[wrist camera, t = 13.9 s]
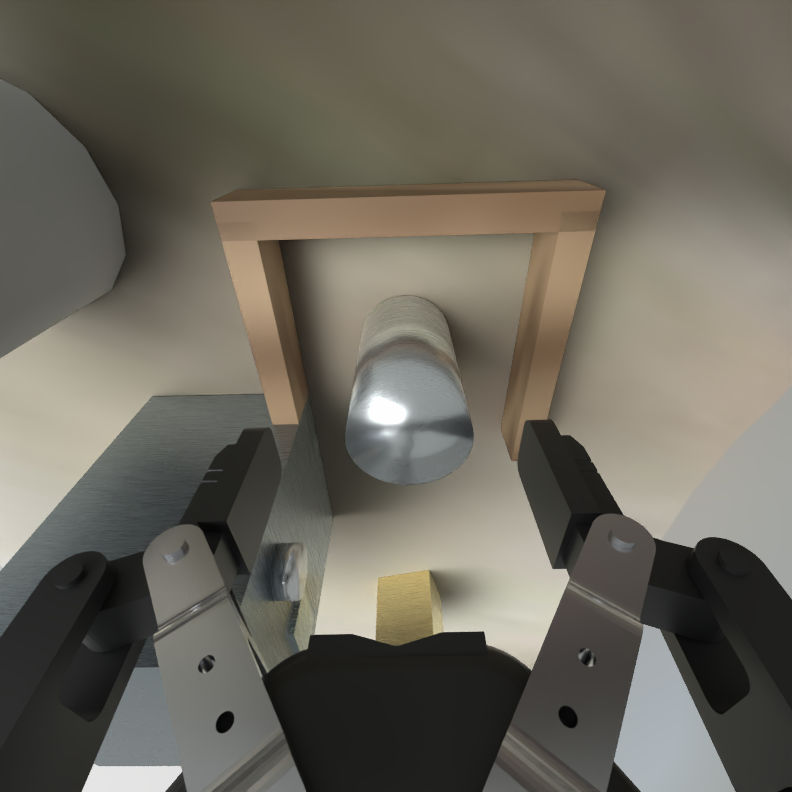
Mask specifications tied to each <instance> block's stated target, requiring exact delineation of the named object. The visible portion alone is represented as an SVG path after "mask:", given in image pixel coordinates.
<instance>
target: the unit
mask: <svg viewBox="0 0 792 792" xmlns="http://www.w3.org/2000/svg"><path fill="white" fill-rule="evenodd" d="M258 427H269V428H270V429H271V430H272V433H273V436H274V440H275V443H276V447H277V450H278V454H279V457H280V461H281V467H282V474H281V480H280V484H279V487H278V490H277V493H276V496H275V499H274V503H273V506H272V509H271V512H270V515H269V518H268V521H267V524H266V528H265V531H264V534H263V537H262V540H261V543H260V546H259V549H258V552H257V556H256V559H255V562H254V565H253V568H252V571H251V574H250V575H236V577H235V580H234V583H233V586H232V589H233V591H234V593H235V596H236V598H237V600H238V603H239V605H240V608H241V610H242V612H243V615H244V617H245V619H246V622H247V624H248V626H249V629H250V631H251V633H252V636H253V638H254V640H255V643H256V645H257V647H258V649H259V651H260V654H261V656H262V658H263V660H264V662H265V664H266V666H267V668H268V671H270V670H271V669H272V668H274V667H275V666H276V665H277V664H279V663H280V662H281V661H283V660H285V659H286V658H288V657H290V656H291V655H294V654H296V653H298V652H300V651H302V650H305V649H308V644H309V638H310V635H314V632H315V626H316V620H317V614H318V607H319V601H320V595H321V589H322V582H323V576H324V570H325V564H326V557H327V551H328V545H329V539H330V532H331V526H332V520H333V515H332V510H331V505H330V500H329V495H328V490H327V485H326V480H325V475H324V469H323V464H322V459H321V454H320V449H319V444H318V439H317V434H316V429H315V424H314V418H313V413H312V408H311V403H310V398H309V394H308V397H307V400H306V403H305V406H304V409H303V412H302V416H301V419H300V422H299V424H276V425H273V424H272V421H271V417H270V413H269V410H268V406H267V403H266V399H265V396H264V394H253V395H204V396H155V397H151V398H150V399H149V401H148V402H147V403H146V404H145V405H144V406H143V408H142V409H141V410H140V411H139V412H138V413H137V414H136V416H135V417H134V418H133V419H132V420H131V421H130V422H129V424H128V425H127V426H126V427H125V428H124V429H123V431H122V432H121V433H120V434H119V435H118V436H117V437H116V439H115V440H114V441H113V442H112V443H111V444H110V446H109V447H108V448H107V449H106V450H105V451H104V452H103V454H102V455H101V456H100V457H99V458H98V459H97V461H96V462H95V463H94V464H93V465H92V466H91V467H90V469H89V470H88V471H87V472H86V473H85V474H84V476H83V477H82V478H81V479H80V480H79V481H78V482H77V484H76V485H75V486H74V487H73V488H72V489H71V491H70V492H69V493H68V494H67V495H66V496H65V497H64V499H63V500H62V501H61V502H60V503H59V504H58V505H57V507H56V508H55V509H54V510H53V511H52V512H51V514H50V515H49V516H48V517H47V518H46V519H45V520H44V522H43V523H42V524H41V525H40V526H39V527H38V529H37V530H36V531H35V532H34V533H33V534H32V535H31V537H30V538H29V539H28V540H27V541H26V542H25V544H24V545H23V546H22V547H21V548H20V549H19V550H18V552H17V553H16V554H15V555H14V556H13V557H12V559H11V560H10V561H9V562H8V563H7V564H6V565H5V567H4V568H3V569H2V570H1V571H0V637H1V636H2V634H3V633H4V632H5V630H6V629H7V627H8V626H9V625H10V623H11V622H12V620H13V619H14V618H15V616H16V615H17V613H18V612H19V611H20V609H21V608H22V606H23V605H24V604H25V602H26V601H27V599H28V598H29V597H30V595H31V594H32V592H33V591H34V590H35V588H36V587H37V585H38V584H39V583H40V581H41V580H42V579H43V577H44V576H45V575H46V574H47V573H48V572H49V571H50V570H51V569H52V568H53V567H54V566H56V565H57V564H59V563H60V562H61V561H63V560H65V559H66V558H68V557H71V556H73V555H75V554H78V553H81V552H86V551H97V552H100V553H102V554H103V555H104V556H105V557H106V559H107V560H108V561H112V560H115V559H119V558H122V557H125V556H129V555H132V554H136V553H139V552H142V551H145V550H146V549H147V547H148V546H149V544H150V543H151V542H152V541H153V540H154V539H155V538H156V537H157V536H158V535H160V534H161V533H163V532H164V531H166V530H168V529H170V528H172V527H175V526H177V525H178V524H179V522H180V520H181V518H182V516H183V515H184V513H185V511H186V509H187V507H188V505H189V504H190V502H191V500H192V498H193V496H194V494H195V492H196V491H197V489H198V487H199V485H200V483H202V479H203V478H204V476H205V474H206V472H208V468H209V467H210V465H211V463H212V461H213V459H214V457H215V456H216V455H217V454H218V453H219V452H220V451H221V450H222V449H224V448H225V447H226V446H227V445H230V444H236V443H237V441H238V439H239V437H240V435H241V433H242V431H243V429H244V428H258ZM94 764H96V765H98V766H181V763H180V758H179V754H178V749H177V745H176V740H175V736H174V732H173V727H172V723H171V718H170V714H169V709H168V705H167V700H166V696H165V691H164V687H163V683H162V678H161V674H160V669H159V665H158V660H157V656H156V651H155V647H154V641H153V636H151V637H148V638H147V639H146V642H145V644H144V647H143V649H142V651H141V654H140V656H139V658H138V661H137V663H136V665H135V668H134V670H133V672H132V675H131V677H130V679H129V682H128V684H127V686H126V689H125V691H124V693H123V696H122V698H121V700H120V703H119V705H118V707H117V710H116V712H115V714H114V717H113V719H112V721H111V724H110V726H109V729H108V731H107V733H106V736H105V738H104V740H103V743H102V745H101V747H100V750H99V752H98V754H97V757H96V759H95V761H94Z"/></svg>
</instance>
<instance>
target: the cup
mask: <svg viewBox="0 0 792 792" xmlns="http://www.w3.org/2000/svg"><path fill="white" fill-rule="evenodd" d="M125 256H126V252H125V245H124V239H123V233H122V226H121V220H120V214H119V207H118V204H117V202H116V200H115V199H114V197H113V195H112V193H111V192H110V190H109V188H108V186H107V185H106V183H105V181H104V179H103V178H102V176H101V174H100V172H99V171H98V169H97V167H96V165H95V164H94V162H93V160H92V158H91V157H90V155H89V153H88V152H87V150H86V148H85V147H84V146H83V145H82V144H81V143H80V142H79V141H78V140H77V139H76V138H75V137H74V136H73V135H72V134H71V133H70V132H69V131H68V130H67V129H66V128H65V127H64V126H62V125H61V124H60V123H59V122H58V121H57V120H56V119H55V118H54V117H53V116H52V115H51V114H50V113H49V112H48V111H47V110H46V109H45V108H44V107H43V106H42V105H41V104H40V103H38V102H37V101H36V100H35V99H34V98H33V97H32V96H31V95H30V94H29V93H28V92H26V91H24V90H22V89H20V88H18V87H16V86H14V85H12V84H10V83H8V82H6V81H4V80H2V79H0V358H1V357H3V356H4V355H6V354H8V353H9V352H11V351H13V350H14V349H16V348H18V347H19V346H21V345H22V344H24V343H26V342H27V341H29V340H31V339H32V338H34V337H35V336H37V335H39V334H40V333H42V332H44V331H45V330H47V329H48V328H50V327H52V326H53V325H55V324H57V323H58V322H60V321H61V320H63V319H65V318H66V317H68V316H70V315H71V314H73V313H74V312H76V311H78V310H79V309H81V308H83V307H84V306H86V305H87V304H89V303H91V302H92V301H94V300H96V299H97V298H99V297H100V296H102V295H104V294H105V293H107V292H109V291H110V290H112V288H113V285H114V283H115V280H116V278H117V276H118V273H119V271H120V268H121V266H122V263H123V261H124V258H125Z"/></svg>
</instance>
